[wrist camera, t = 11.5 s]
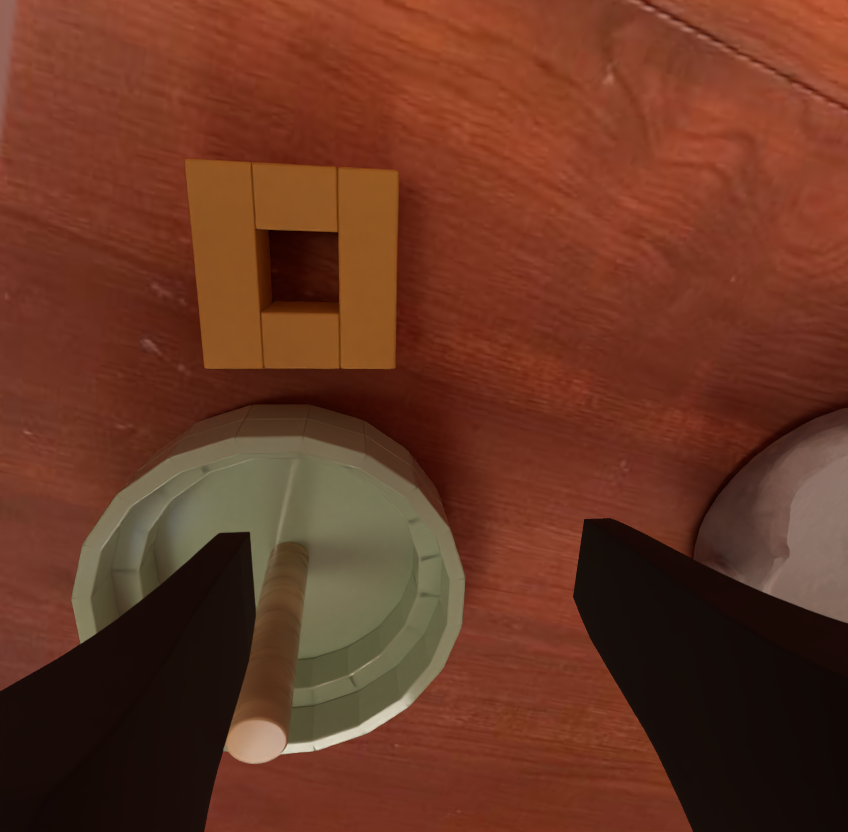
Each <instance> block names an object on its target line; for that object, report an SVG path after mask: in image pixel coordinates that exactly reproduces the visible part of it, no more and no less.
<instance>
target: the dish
mask: <svg viewBox="0 0 848 832" xmlns="http://www.w3.org/2000/svg"><path fill="white" fill-rule="evenodd" d="M693 559H694V560H696V561H698V562H700V563H702V564H704V565H706V566H708V567H710V568H712V569H714V570H716V571H718V572H720V573H722V574H724V575H727V576H729V577H731V578H733V579H735V580H737V581H739V582H742V583H744V584H746V585H748V586H750V587H753V588H755V589H757V590H760V591H762V592H764V593H767V594H769V595H772V596H774V597H777V598H779V599H782V600H784V601H787V602H789V603H792V604H795V605H797V606H800V607H802V608H805V609H807V610H810V611H813V612H816V613H819V614H822V615H824V616H827V617H830V618H833V619H836V620H839V621H842V622H845V623H848V408H844V409H840V410H837V411H834V412H831V413H828V414H826V415H823V416H820V417H817V418H815V419H813V420H811V421H809V422H807V423H805V424H803V425H801V426H800V427H798V428H796V429H794V430H793V431H791V432H789V433H788V434H786V435H784V436H783V437H781V438H779V439H778V440H776V441H775V442H773V443H772V444H771V445H769V446H768V447H767V448H765V449H764V450H763V451H761V452H760V453H759V454H757V455H756V456H755V457H754V458H753V459H752V460H751V461H750V462H749V463H747V464H746V465H745V466H744V467H743V468H742V469H741V470H740V471H739V472H738V473H737V474H736V475H735V476H734V477H733V479H732V480H731V481H730V482H729V483H728V484H727V485H726V487H725V488H724V489H723V490H722V491H721V492H720V494H719V495H718V496H717V498H716V499H715V501H714V503H713V504H712V506H711V507H710V509H709V511H708V512H707V514H706V515H705V518H704V520H703V522H702V524H701V526H700V529H699V533H698V537H697V541H696V544H695V549H694V557H693Z"/></svg>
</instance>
